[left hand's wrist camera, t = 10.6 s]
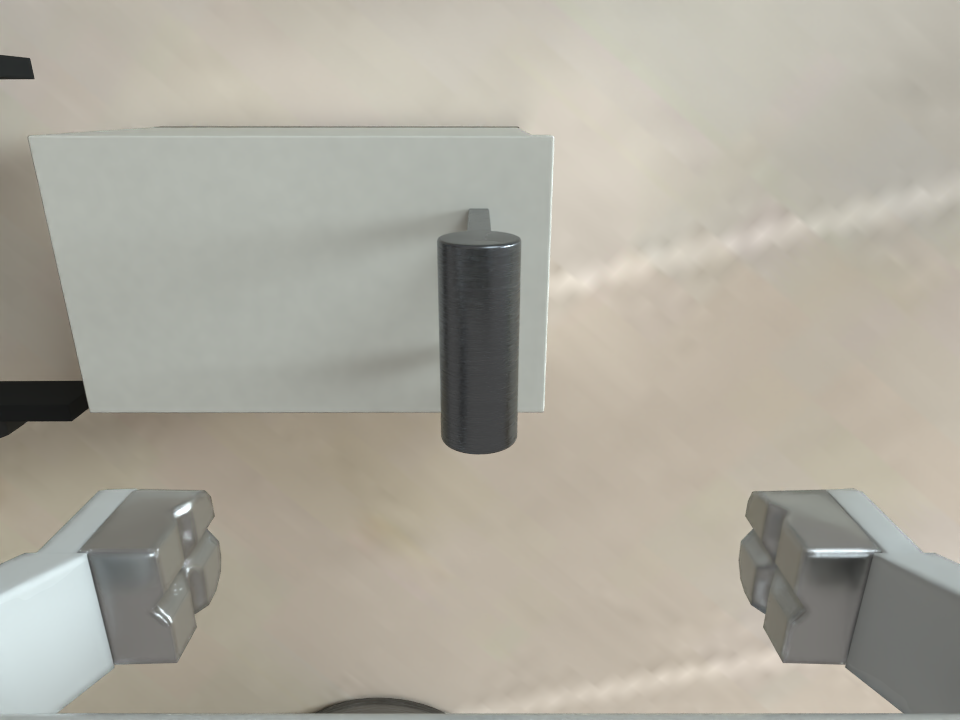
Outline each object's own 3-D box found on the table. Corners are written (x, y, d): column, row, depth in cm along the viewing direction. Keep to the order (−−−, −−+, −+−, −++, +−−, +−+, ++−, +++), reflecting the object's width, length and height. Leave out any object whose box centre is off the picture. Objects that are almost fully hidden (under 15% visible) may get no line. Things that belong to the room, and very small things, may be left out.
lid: (551, 135, 23) (589, 149, 15) (541, 403, 27) (568, 525, 19) (43, 134, 23) (-178, 148, 15) (101, 403, 27) (-53, 525, 19)
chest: (517, 126, 32) (533, 134, 23) (514, 330, 35) (525, 402, 27) (162, 126, 32) (43, 134, 23) (194, 330, 35) (102, 403, 27)
